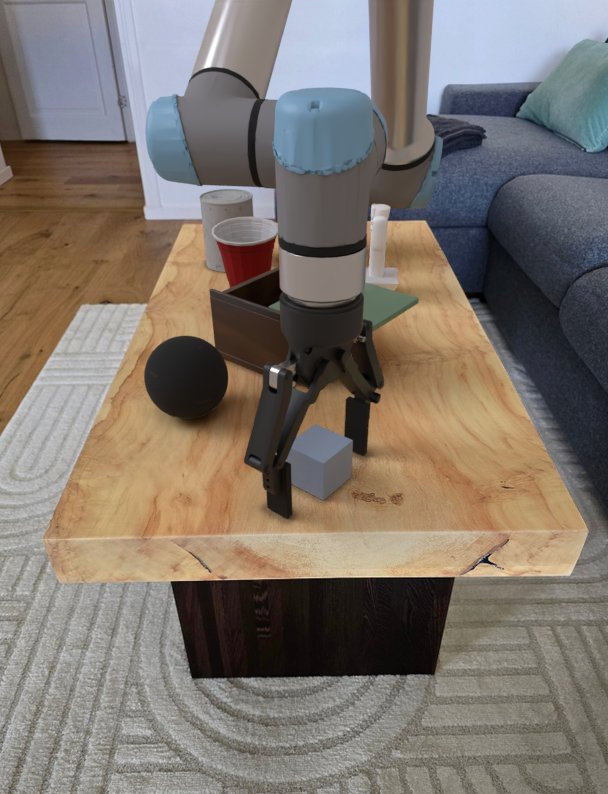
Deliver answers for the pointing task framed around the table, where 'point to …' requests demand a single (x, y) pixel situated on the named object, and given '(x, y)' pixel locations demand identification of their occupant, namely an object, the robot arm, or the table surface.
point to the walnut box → (249, 322)
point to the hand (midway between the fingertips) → (319, 478)
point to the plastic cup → (245, 246)
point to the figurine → (380, 250)
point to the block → (320, 461)
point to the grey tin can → (221, 218)
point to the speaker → (186, 377)
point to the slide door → (379, 304)
